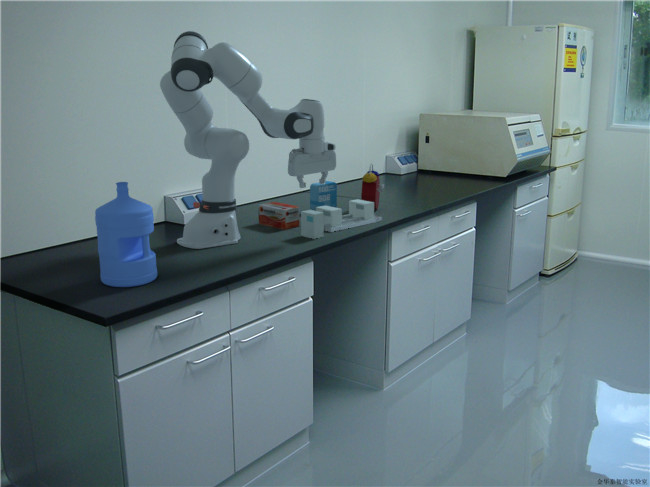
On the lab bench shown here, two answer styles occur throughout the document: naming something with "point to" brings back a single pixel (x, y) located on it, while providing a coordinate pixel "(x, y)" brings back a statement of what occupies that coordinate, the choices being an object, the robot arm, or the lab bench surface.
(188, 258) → the lab bench surface
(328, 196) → the blue printed box
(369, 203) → the block
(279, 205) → the medicine box
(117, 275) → the water jug
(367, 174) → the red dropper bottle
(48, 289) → the lab bench surface
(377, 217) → the din rail
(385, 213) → the lab bench surface
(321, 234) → the block
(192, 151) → the robot arm
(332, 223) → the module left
